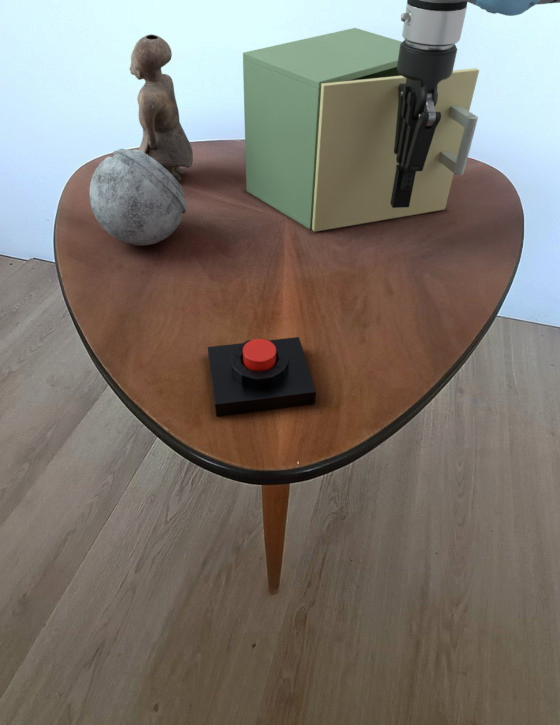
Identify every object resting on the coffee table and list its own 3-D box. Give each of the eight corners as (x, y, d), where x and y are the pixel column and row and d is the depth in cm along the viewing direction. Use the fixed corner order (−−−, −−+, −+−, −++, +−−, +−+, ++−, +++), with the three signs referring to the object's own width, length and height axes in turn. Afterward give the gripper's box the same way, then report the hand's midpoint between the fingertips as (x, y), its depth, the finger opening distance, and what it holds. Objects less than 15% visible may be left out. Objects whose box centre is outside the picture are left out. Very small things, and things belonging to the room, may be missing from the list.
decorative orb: (206, 238, 94) (198, 151, 83) (137, 274, 86) (119, 183, 75) (151, 208, 101) (137, 124, 90) (82, 239, 93) (59, 151, 82)
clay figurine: (153, 162, 114) (132, 24, 97) (200, 164, 114) (188, 26, 96) (135, 191, 105) (109, 44, 87) (187, 195, 104) (171, 47, 87)
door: (462, 225, 98) (502, 81, 81) (326, 249, 91) (340, 99, 75) (442, 207, 102) (475, 68, 86) (311, 229, 96) (321, 83, 80)
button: (273, 347, 69) (273, 336, 68) (278, 369, 66) (278, 359, 65) (241, 351, 68) (240, 340, 67) (245, 373, 66) (245, 363, 64)
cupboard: (407, 186, 108) (432, 50, 92) (309, 229, 96) (319, 82, 79) (342, 155, 118) (354, 27, 101) (246, 191, 106) (242, 52, 89)
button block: (298, 349, 74) (299, 326, 71) (315, 404, 67) (317, 381, 64) (208, 359, 72) (206, 336, 70) (216, 416, 65) (214, 393, 63)
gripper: (389, 29, 77) (368, 187, 94) (415, 57, 68) (386, 227, 85) (441, 28, 78) (411, 185, 94) (474, 56, 69) (434, 225, 85)
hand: (399, 205), depth 89 cm, fingers closed
